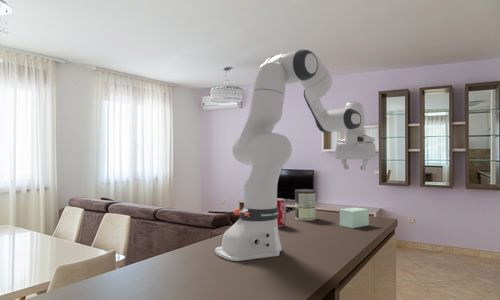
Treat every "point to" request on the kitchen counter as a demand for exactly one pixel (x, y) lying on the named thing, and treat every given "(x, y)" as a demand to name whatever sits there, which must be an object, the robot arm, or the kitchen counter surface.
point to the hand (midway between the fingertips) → (354, 169)
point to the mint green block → (354, 217)
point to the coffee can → (305, 204)
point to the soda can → (281, 212)
